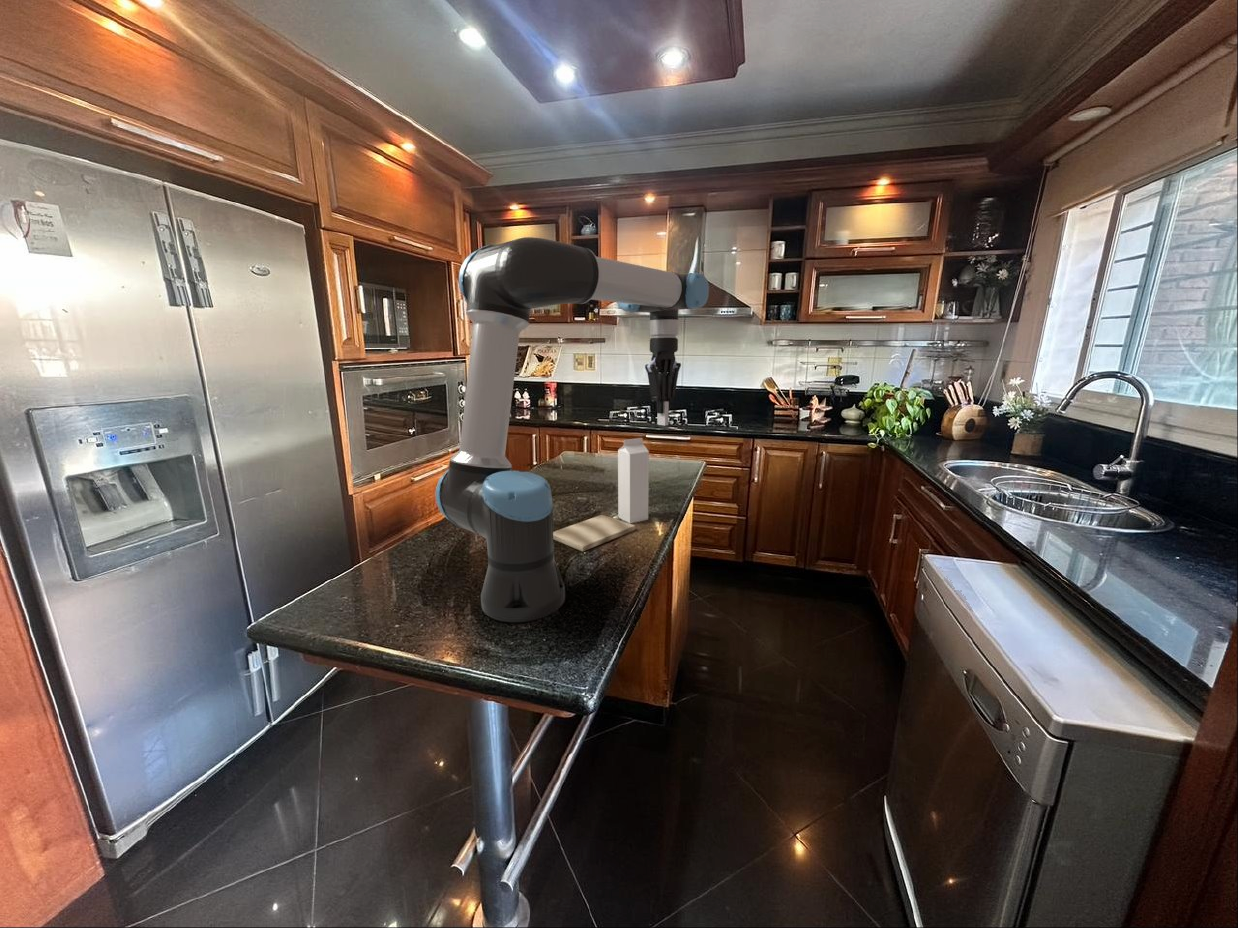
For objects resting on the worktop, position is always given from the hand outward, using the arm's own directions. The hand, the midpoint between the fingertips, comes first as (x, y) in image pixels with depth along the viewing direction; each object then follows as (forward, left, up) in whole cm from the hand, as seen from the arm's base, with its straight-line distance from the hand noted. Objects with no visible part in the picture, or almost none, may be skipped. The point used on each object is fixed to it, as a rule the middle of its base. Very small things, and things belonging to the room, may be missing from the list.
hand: (662, 424), depth 133 cm
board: (-27, 0, -24) cm, 37 cm away
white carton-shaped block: (-12, 0, -24) cm, 27 cm away
